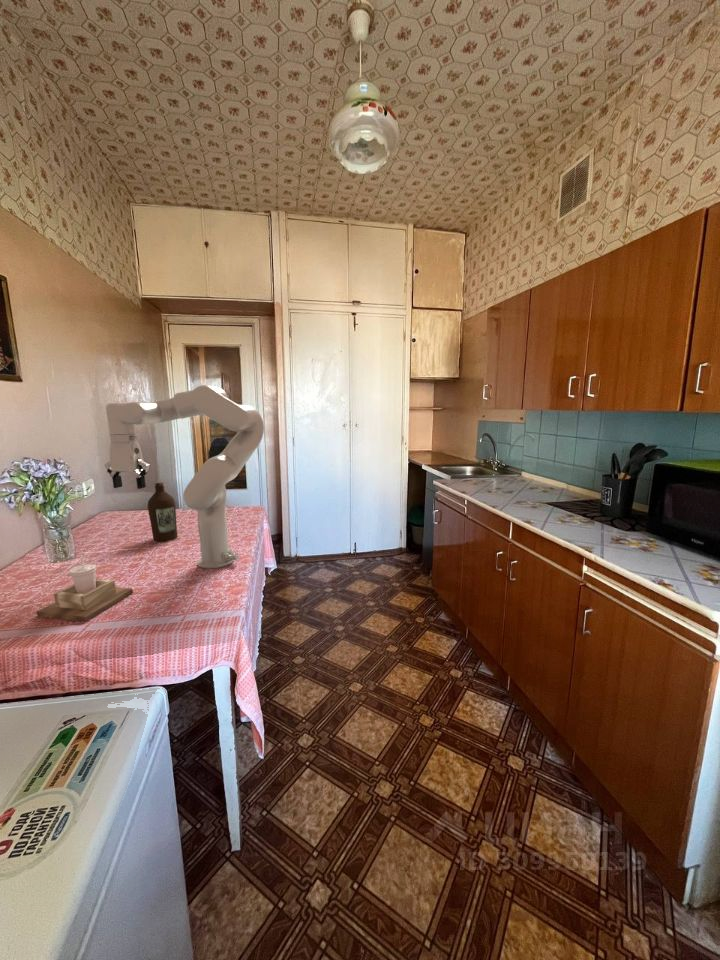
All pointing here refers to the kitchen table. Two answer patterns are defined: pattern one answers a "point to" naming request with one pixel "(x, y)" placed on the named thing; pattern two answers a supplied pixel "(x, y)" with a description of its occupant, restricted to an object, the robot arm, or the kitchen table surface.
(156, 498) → the olive oil
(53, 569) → the kitchen table surface
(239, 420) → the robot arm
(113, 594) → the wooden open box
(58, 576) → the kitchen table surface
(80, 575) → the smoothie
